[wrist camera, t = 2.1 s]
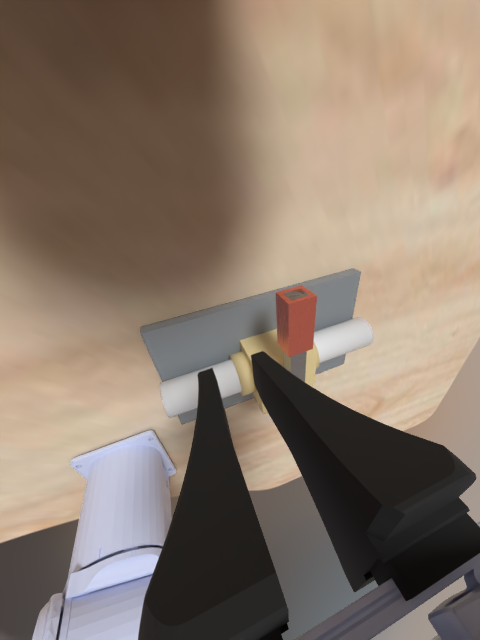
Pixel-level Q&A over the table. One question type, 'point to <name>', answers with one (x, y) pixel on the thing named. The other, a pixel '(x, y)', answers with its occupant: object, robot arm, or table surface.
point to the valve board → (238, 324)
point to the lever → (295, 327)
